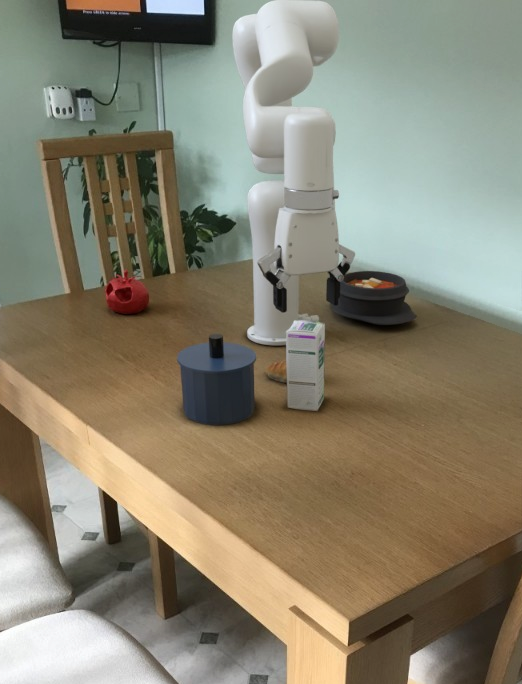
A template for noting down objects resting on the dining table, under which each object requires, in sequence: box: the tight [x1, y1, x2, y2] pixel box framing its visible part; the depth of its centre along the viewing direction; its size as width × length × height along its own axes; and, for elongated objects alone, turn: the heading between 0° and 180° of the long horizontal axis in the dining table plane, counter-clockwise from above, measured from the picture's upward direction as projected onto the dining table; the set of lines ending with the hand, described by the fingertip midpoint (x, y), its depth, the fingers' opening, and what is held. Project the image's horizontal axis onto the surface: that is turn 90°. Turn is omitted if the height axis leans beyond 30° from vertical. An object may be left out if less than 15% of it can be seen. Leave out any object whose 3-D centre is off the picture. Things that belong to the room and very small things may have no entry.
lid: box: [176, 333, 257, 374], centre depth 138 cm, size 13×13×5 cm
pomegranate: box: [104, 269, 150, 315], centre depth 187 cm, size 10×10×9 cm
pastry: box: [265, 360, 287, 384], centre depth 155 cm, size 9×7×4 cm
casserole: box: [330, 270, 417, 326], centre depth 187 cm, size 25×19×8 cm
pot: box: [179, 363, 256, 426], centre depth 141 cm, size 12×13×10 cm
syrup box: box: [285, 320, 326, 412], centre depth 143 cm, size 6×6×14 cm
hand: (306, 306), depth 137 cm, fingers open, 9 cm apart
